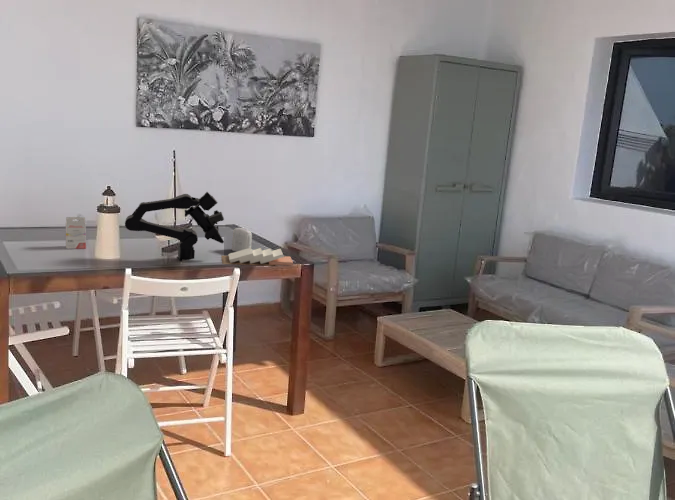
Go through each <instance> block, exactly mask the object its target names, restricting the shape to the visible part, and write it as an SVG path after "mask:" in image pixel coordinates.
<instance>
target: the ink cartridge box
mask: <svg viewBox="0 0 675 500" xmlns="http://www.w3.org/2000/svg"><path fill="white" fill-rule="evenodd" d="M77 220H78V221H77ZM86 230H87V225H86V217H84V216H82V217H81V216H72V217H71V216H67V217H66V218H65V249H67V250H72V249H73V250H75V249H77V250H78V249H79V250H80V249H82V250H84V249H86V248H87V245H86V243H87V240H86V239H87V237H86V236H87V233H86V232H87V231H86Z"/></svg>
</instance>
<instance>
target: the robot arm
mask: <svg viewBox="0 0 675 500" xmlns="http://www.w3.org/2000/svg"><path fill="white" fill-rule="evenodd" d="M217 204H218V201H217V200H216V199H215V197H214V196H213V195H211V193H210V192H208V191H206V192H205V193H204V194H203V195H202V196H200V197H199V198H198V197H193V196H191V195H190V194H188V193H183V194H180V195H176V196H175V197H172V198H168V199H167V198H166V199H160V200H152V201H146V202H145V201H144V202H140V203H139V204H138V207H136V209H135V210H134V211H133V212H132V214H129V215H128V216H126V218H125V221H124V227H125V228H126V230H128V231H131V232H132V231H133V232H147V233H152V234H155V235H156V234H157V235H161V236H165V237H168V238H172V239H176V240H178V241H179V245H178V246H177V247H178V248H177V256H176V259H177V260H178V261H179V262H183V261H190V260H193V259H195V253H196V251H195V247H194V246H195V245H196V244H197V243H198V233H197V232H196V231H195V230H194V229H193V228H190V227H186V226H183V228H182V229H181V228H180V229H177V228H173V227H170V226H166V225H162V224H158V223H154V222H150V221H147V220H146V219H143V216H144V215H145V214H146V213H147V212H153V211H154V212H155V211H160V210H161V211H163V210H168V209H177V210H179V209H180V210H184V217H185V218H186V217H187V216H189V217H191V218H192V219H193V221H194V222H195V223H196V225H197V226H199V227H200V228H201V230H202V231H203V232H204V238H205V240H208V241H209V240H210V239H211V240H213V241H216V242H218V243H220V244H224V243H225V240H224V239H223V238H222V236H221V234H220V232H219V230H220V229H219V225H218V223H219V222H222V221H223V222H224V221H225V218H224V215H223V212H222V211H218V209H216V210H213V214H211V215H209V214H208V213H205V211H210V210H211V209H212V208H214V206H216V205H217ZM216 225H217V226H216Z"/></svg>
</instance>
